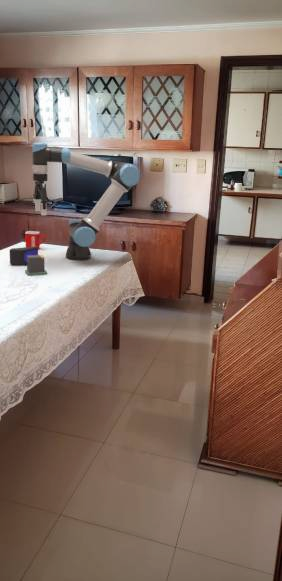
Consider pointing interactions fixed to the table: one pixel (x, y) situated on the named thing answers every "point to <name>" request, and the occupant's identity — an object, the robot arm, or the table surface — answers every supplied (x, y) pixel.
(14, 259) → the computer mouse
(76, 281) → the table surface
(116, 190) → the robot arm
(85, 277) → the table surface
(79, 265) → the table surface
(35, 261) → the gray orange-striped box
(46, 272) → the header
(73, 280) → the table surface
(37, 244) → the mug
